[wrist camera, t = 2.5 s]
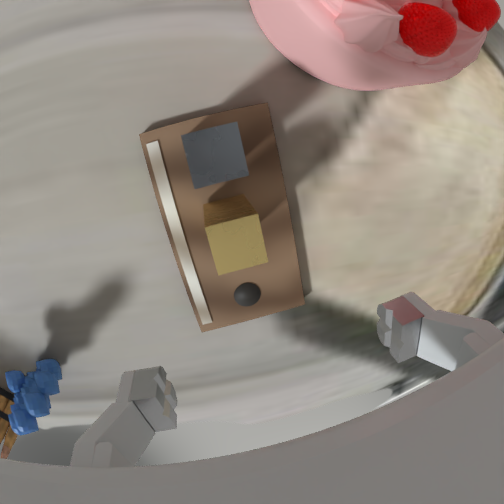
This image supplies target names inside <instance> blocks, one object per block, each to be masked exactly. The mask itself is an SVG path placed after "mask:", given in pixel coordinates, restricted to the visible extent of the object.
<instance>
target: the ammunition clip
mask: <svg viewBox="0 0 504 504" xmlns="http://www.w3.org/2000/svg"><path fill="white" fill-rule="evenodd" d="M13 398H15V396H14V395H12V394H11V393H9V392H7V391H6V390H4V389H2V388H1V387H0V444H1V442H2V440H3V439H4V437H5V442H4V445H3V449H2V452H1V458H4V459H7V457H8V455H9V453H10V450H11V448H12V446H13V445H14V443H15V440H16V438H17V434H16V433H14V431H13V430H12V428H11V425H10V422H9V418H8V414H11V413H12V412H11V407H10V405H13V404H15V403H14V399H13ZM4 409H5V410H4ZM8 427H9V428H8ZM7 430H8V431H7ZM6 432H7V434H6ZM5 435H6V436H5Z"/></svg>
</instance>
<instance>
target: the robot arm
mask: <svg viewBox="0 0 504 504" xmlns="http://www.w3.org/2000/svg"><path fill="white" fill-rule="evenodd" d="M377 314H378V315H379V317H380V319H379V321H378V322H377V332H378V336H379V338H380V340H381V342H382V343H383V345H384V346H387V347H390V353H391V355H392V356H393V357H394V358H395V359H396V361H397V362H398V363H400V362H402V361H404V360H407V359H409V358H411V357H414V356H416V355H417V356H418V357H420V358H422V359H425V360H427V361H429V362H432V363H434V364H436V365H438V366H441V367H443V368H445V369H448V370H450V371H452V372H450V373H448V374H447V375H445V376H443V377H441V378H439V379H438V380H436V381H434V382H432V383H430V384H428V385H427V386H425V387H423V388H421V389H419V390H417V391H415V392H413V393H411V394H409V395H407V396H405V397H403V398H401V399H399V400H396V401H394V402H392V403H390V404H388V405H385V406H383V407H381V408H379V409H376V410H374V411H372V412H369V413H367V414H364V415H362V416H360V417H357V418H355V419H352V420H350V421H347V422H344V423H341V424H339V425H336V426H333V427H330V428H327V429H325V430H322V431H319V432H315V433H313V434H309V435H306V436H303V437H300V438H297V439H293V440H290V441H286V442H282V443H279V444H275V445H271V446H267V447H263V448H259V449H255V450H250V451H246V452H241V453H236V454H231V455H226V456H221V457H215V458H209V459H203V460H196V461H189V462H182V463H173V464H163V465H151V466H135V465H136V464H137V462H138V461H139V459H140V457H141V456H142V454H143V453H144V451H145V449H146V448H147V446H148V445H149V443H150V441H151V440H152V438H153V436H154V435H155V432H158V431H164V430H170V429H175V428H176V427H177V414H176V413H175V411H174V409H175V407H176V406H177V397H176V392H175V390H174V387H173V385H172V383H171V382H170V381H168V380H166V372H165V370H164V369H163V367H161V366H158V367H152V368H146V369H140V370H134V371H128V372H124V373H123V374H122V377H121V381H120V385H119V390H118V394H117V399H116V403H113V404H111V405H110V406H109V407H108V409H107V410H106V411H105V412H104V413H103V414H102V415H101V416H100V417H99V418H98V419H97V420H96V421H95V422H94V423H93V424H92V425H91V426H90V427H89V429H88V430H87V431H86V432H85V433H84V434H83V435H82V436H81V437H80V438H79V439H78V440H77V441H76V442H75V446H74V450H73V455H72V459H71V463H70V466H56V465H45V464H35V463H28V462H21V461H15V460H9V459H4V458H0V504H504V333H503V332H501V331H500V330H499V329H498V328H497V327H495V326H494V325H493V324H492V323H490V322H489V321H486V320H482V319H477V318H473V317H468V316H464V315H459V314H455V313H450V312H446V311H442V310H437V311H435V310H434V309H433V308H432V307H430V306H429V305H428V304H427V303H426V302H425V301H423V300H422V299H421V298H420V297H419V296H417V295H416V294H415V293H414V292H409V293H406V294H404V295H402V296H400V297H398V298H395V299H392V300H390V301H387V302H385V303H382V304H379V305H378V308H377Z"/></svg>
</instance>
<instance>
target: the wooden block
mask: <svg viewBox="0 0 504 504" xmlns="http://www.w3.org/2000/svg"><path fill="white" fill-rule="evenodd" d="M203 210H204V225H205V230H206V234H207V238H208V241H209V245H210V248H211V252H212V255H213V259H214V262H215V266H216V269H217V272H218V276H219V275H222V274H226V273H230V272H234V271H237V270H241V269H245V268H249V267H252V266H256V265H260V264H264V263H267V262H268V258H267V253H266V249H265V244H264V239H263V235H262V230H261V225H260V221H259V216H258V213H257V212H256V210H255V209H254V208H253V206H252V205H251V204H250V202H249V201H248V200H247V198H246V197H245V196H244V194H241V195H237V196H233V197H229V198H225V199H221V200H217V201H213V202H210V203H206V204H203Z"/></svg>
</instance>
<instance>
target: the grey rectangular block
mask: <svg viewBox="0 0 504 504" xmlns="http://www.w3.org/2000/svg"><path fill="white" fill-rule="evenodd" d="M181 138H182V142H183V147H184V150H185V154H186V158H187V162H188V166H189V170H190V174H191V178H192V182H193V185H194V189H198V188H202V187H205V186H209V185H213V184H217V183H221V182H225V181H229V180H233V179H237V178H241V177H245V176H249V172H248V168H247V163H246V159H245V154H244V150H243V145H242V141H241V137H240V132H239V128H238V123H237V122H233V123H228V124H224V125H220V126H215V127H211V128H207V129H203V130H199V131H195V132H191V133H188V134H184V135H181Z"/></svg>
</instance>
